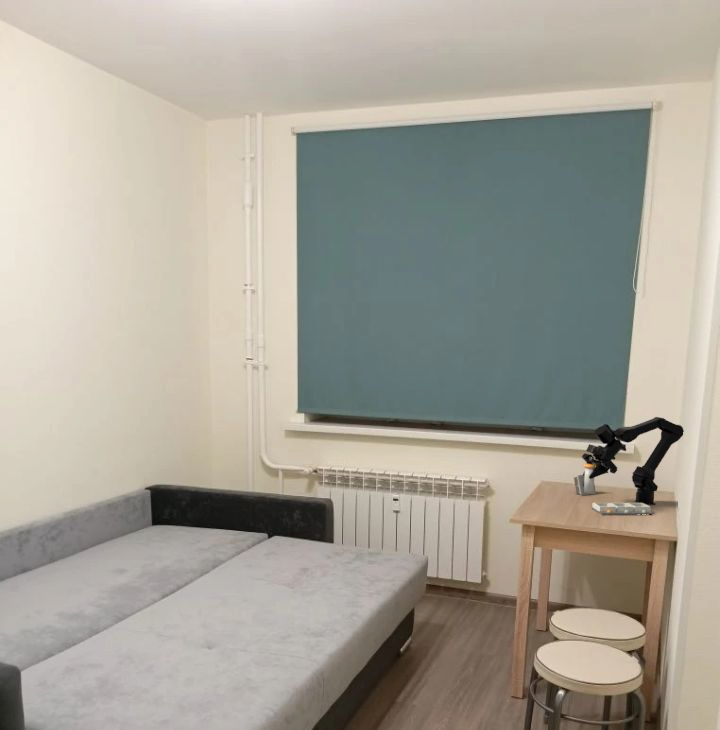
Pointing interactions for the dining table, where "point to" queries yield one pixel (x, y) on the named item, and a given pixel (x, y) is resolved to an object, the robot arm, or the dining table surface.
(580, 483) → the electrical switch
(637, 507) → the grey compartment tray
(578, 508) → the dining table surface
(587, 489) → the plug
